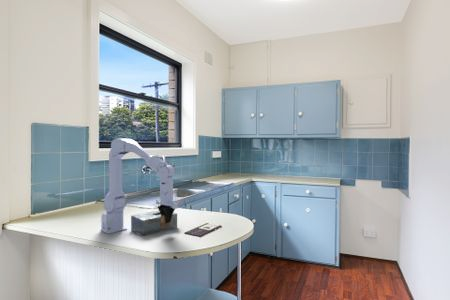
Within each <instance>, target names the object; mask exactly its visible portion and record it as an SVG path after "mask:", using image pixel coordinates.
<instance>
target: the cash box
mask: <svg viewBox="0 0 450 300" xmlns="http://www.w3.org/2000/svg"><path fill="white" fill-rule="evenodd" d="M172 215H173V226H169V227H164V228H162V227H161V214H160V211H159V209H158V210H152V211H149V212H143V213H139V214H132V215H130V226H131V227H130V228H131V231H132V232H134V233H137V234H139V235H141V236H143V237H146V236H150V235H153V234H158V233H162V232H165V231H171V230H173V229H177V228H178V213H177V212H175V211H174V212H173V214H172Z"/></svg>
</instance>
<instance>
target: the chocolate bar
mask: <svg viewBox="0 0 450 300" xmlns="http://www.w3.org/2000/svg"><path fill="white" fill-rule="evenodd" d="M221 226H222V225H221V224H215V223H209V222H206V223H204V224H202V225H199V226H196V227H195V228H192V229H190V230H187V231H185V232H184V235H190V236H195V237H198V238H201V237H203V236H206V235H207V234H210V233H211V232H214V231H216V230H218V229H220V228H222V227H221ZM219 227H220V228H219ZM215 229H216V230H215Z"/></svg>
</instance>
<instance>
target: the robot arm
mask: <svg viewBox="0 0 450 300" xmlns="http://www.w3.org/2000/svg"><path fill="white" fill-rule="evenodd" d="M129 153H134V154H135V155H137V156H138V157H140V158H141V159H143V160H144V161H146V166H148V167H149V168H150V169H152V170H153V171H155V173H156V174H157V176H158V178H159V199H155V204H156V205H157V209H158V210H159V211H160V214H161V216H162V215H165V222H166V223H170V222H171V218H172V214H173V212H174V213H175V210H177V209H178V208H179V204H178V203H176V201H175V200H174V176H175V174H176V168H175V166H173V164H168V162H166V161H164V160H162V159H161V158H160V156H159V155H155V154H153V155H151V154H150V152H148V151H146V150H145V149H144V148H143V147H142V145H140V144H139V143H138V142H137V141H135V139H132V138H119V137H118V138H115V139H113V141H112V142H111V143H110V150H109V153H108V179H109V180H108V182H109V183H108V185H109V187H108V188H109V190H108V192H107V194H105V196H104V201H103V209H104V210H105V212H104V213H101V217H100V219H101V220H100V223H101V229H100V231H101V232H104V233H105V234H112V233H113V234H114V233H117V232H122V231H126V230H128V227H125V226H124V210H125V207H126V206H127V199H126V195H125V194H126V193H125V192H124V191H123V189H122V188H123V187H122V186H123V185H122V184H123V183H122V181H123V180H122V179H123V178H122V158H124V156H126V154H129ZM158 205H159V206H158Z"/></svg>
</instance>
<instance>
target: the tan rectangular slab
mask: <svg viewBox="0 0 450 300" xmlns="http://www.w3.org/2000/svg"><path fill="white" fill-rule="evenodd" d="M169 226H173V215H172V218H171V222H170V223H166V222H165V215H162V216H161V227H162V228H164V227H169Z"/></svg>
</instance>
